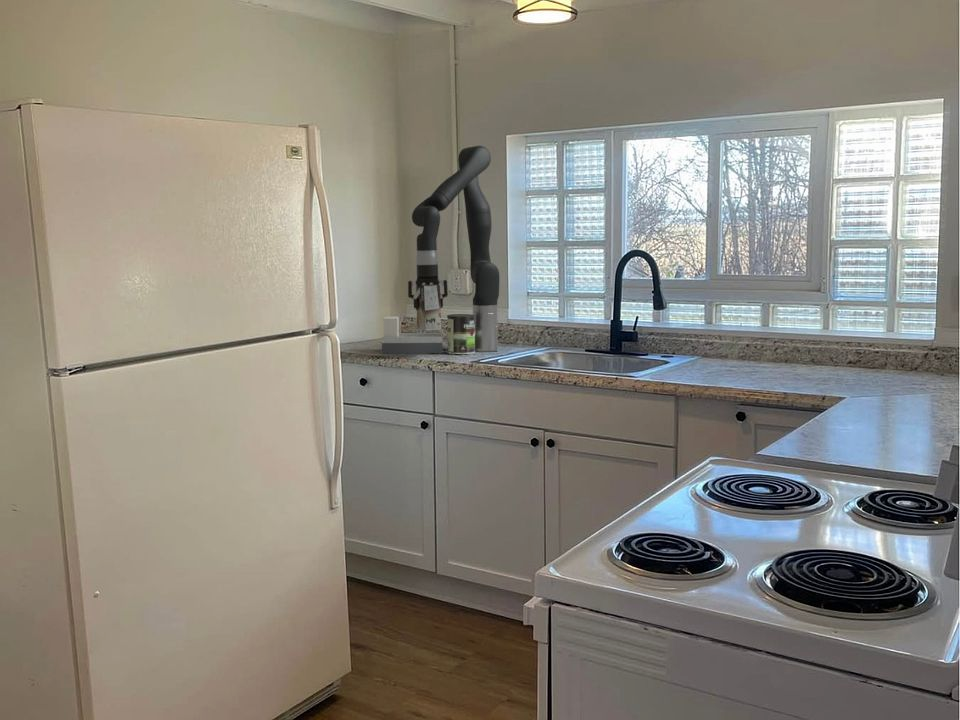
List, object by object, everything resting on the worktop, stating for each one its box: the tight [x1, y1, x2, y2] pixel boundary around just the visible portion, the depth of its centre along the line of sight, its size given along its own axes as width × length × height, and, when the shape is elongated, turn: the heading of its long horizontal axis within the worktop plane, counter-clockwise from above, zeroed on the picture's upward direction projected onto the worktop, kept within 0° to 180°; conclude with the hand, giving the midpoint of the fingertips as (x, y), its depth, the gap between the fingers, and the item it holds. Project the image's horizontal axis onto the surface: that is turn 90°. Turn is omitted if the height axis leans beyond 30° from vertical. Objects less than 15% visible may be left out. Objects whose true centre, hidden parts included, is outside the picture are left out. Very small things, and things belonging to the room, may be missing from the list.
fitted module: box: [383, 315, 400, 337], centre depth 337 cm, size 5×9×8 cm, turn 2°
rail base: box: [381, 339, 444, 355], centre depth 338 cm, size 22×14×4 cm, turn 92°
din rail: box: [381, 332, 444, 344], centre depth 338 cm, size 22×13×2 cm, turn 92°
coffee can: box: [446, 313, 476, 356], centre depth 333 cm, size 10×10×14 cm
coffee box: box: [415, 284, 442, 332], centre depth 322 cm, size 9×6×16 cm
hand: (428, 309), depth 322 cm, fingers closed on coffee box, 8 cm apart
